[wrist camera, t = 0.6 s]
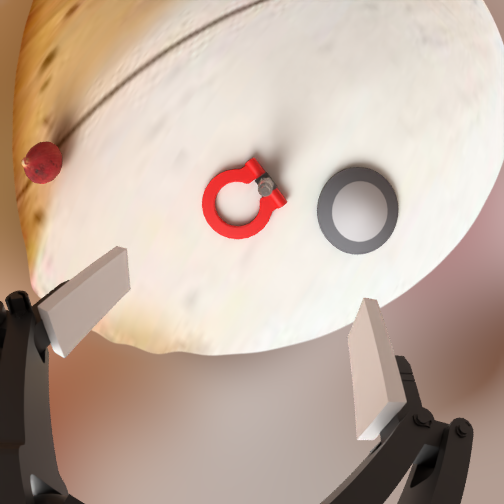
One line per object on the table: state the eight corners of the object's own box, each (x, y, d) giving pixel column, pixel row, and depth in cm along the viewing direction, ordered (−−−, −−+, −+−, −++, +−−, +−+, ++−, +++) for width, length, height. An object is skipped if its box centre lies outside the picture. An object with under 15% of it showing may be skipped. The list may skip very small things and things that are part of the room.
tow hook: (231, 249, 36) (292, 206, 34) (212, 293, 23) (305, 230, 21) (190, 197, 34) (250, 151, 32) (149, 214, 22) (239, 140, 20)
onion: (78, 163, 32) (43, 163, 24) (56, 189, 33) (21, 196, 25) (62, 135, 31) (27, 131, 23) (41, 161, 32) (6, 163, 24)
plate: (360, 149, 31) (363, 149, 30) (409, 214, 33) (412, 215, 33) (298, 208, 34) (300, 209, 33) (353, 269, 36) (355, 271, 35)
